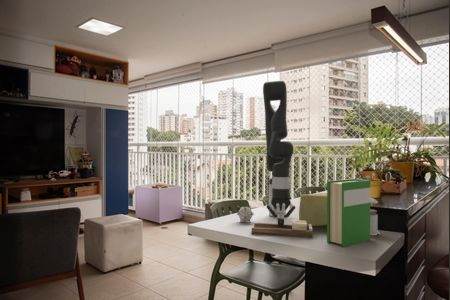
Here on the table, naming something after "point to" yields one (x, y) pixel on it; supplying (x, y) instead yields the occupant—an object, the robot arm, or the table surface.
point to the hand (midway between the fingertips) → (280, 226)
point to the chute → (281, 230)
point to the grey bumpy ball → (245, 214)
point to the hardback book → (348, 211)
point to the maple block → (299, 225)
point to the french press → (373, 217)
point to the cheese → (313, 209)
